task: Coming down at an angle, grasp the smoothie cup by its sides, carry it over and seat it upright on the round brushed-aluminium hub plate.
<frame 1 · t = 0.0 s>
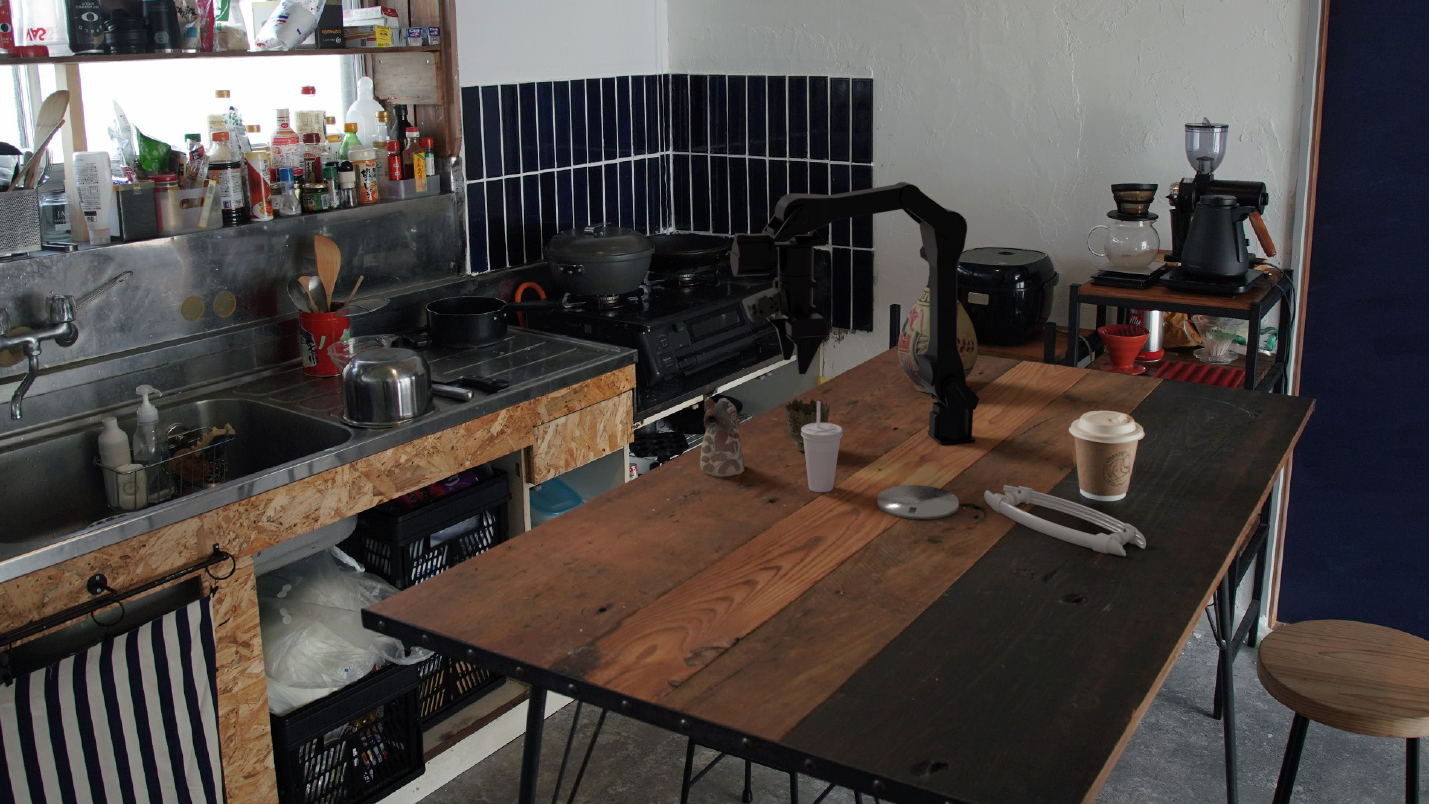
hand: (794, 366, 205), 15 cm above the table, tool pointing down, fingers open, 9 cm apart
cup: (806, 450, 209), on the table
ceramic jug: (936, 390, 243), on the table
figurine: (722, 470, 201), on the table
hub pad: (917, 504, 185), on the table
door handle: (1060, 528, 177), on the table
smoothie: (820, 489, 192), on the table
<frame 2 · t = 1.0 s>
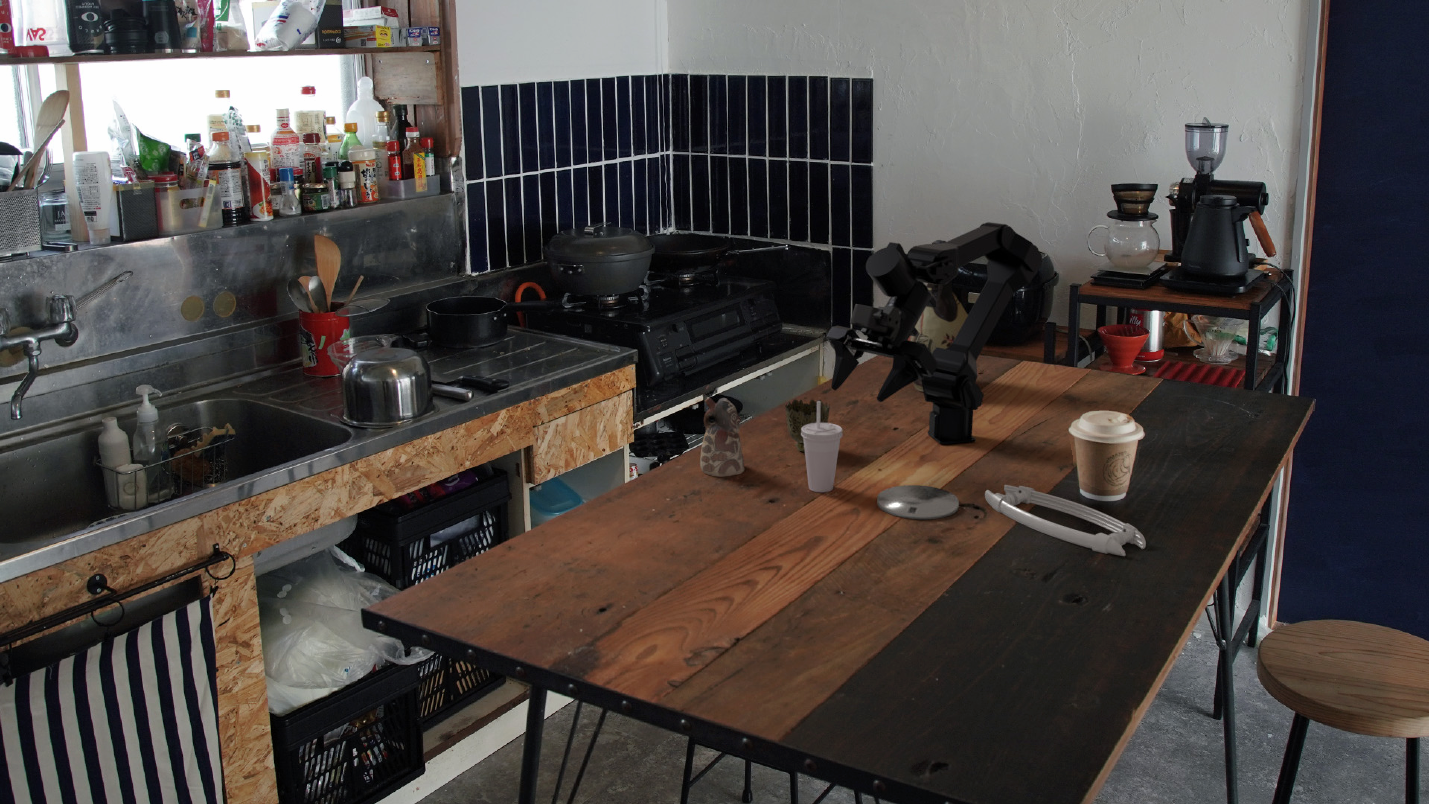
hand: (855, 394, 193), 13 cm above the table, tool tilted 45°, fingers open, 9 cm apart
nothing on the table moved.
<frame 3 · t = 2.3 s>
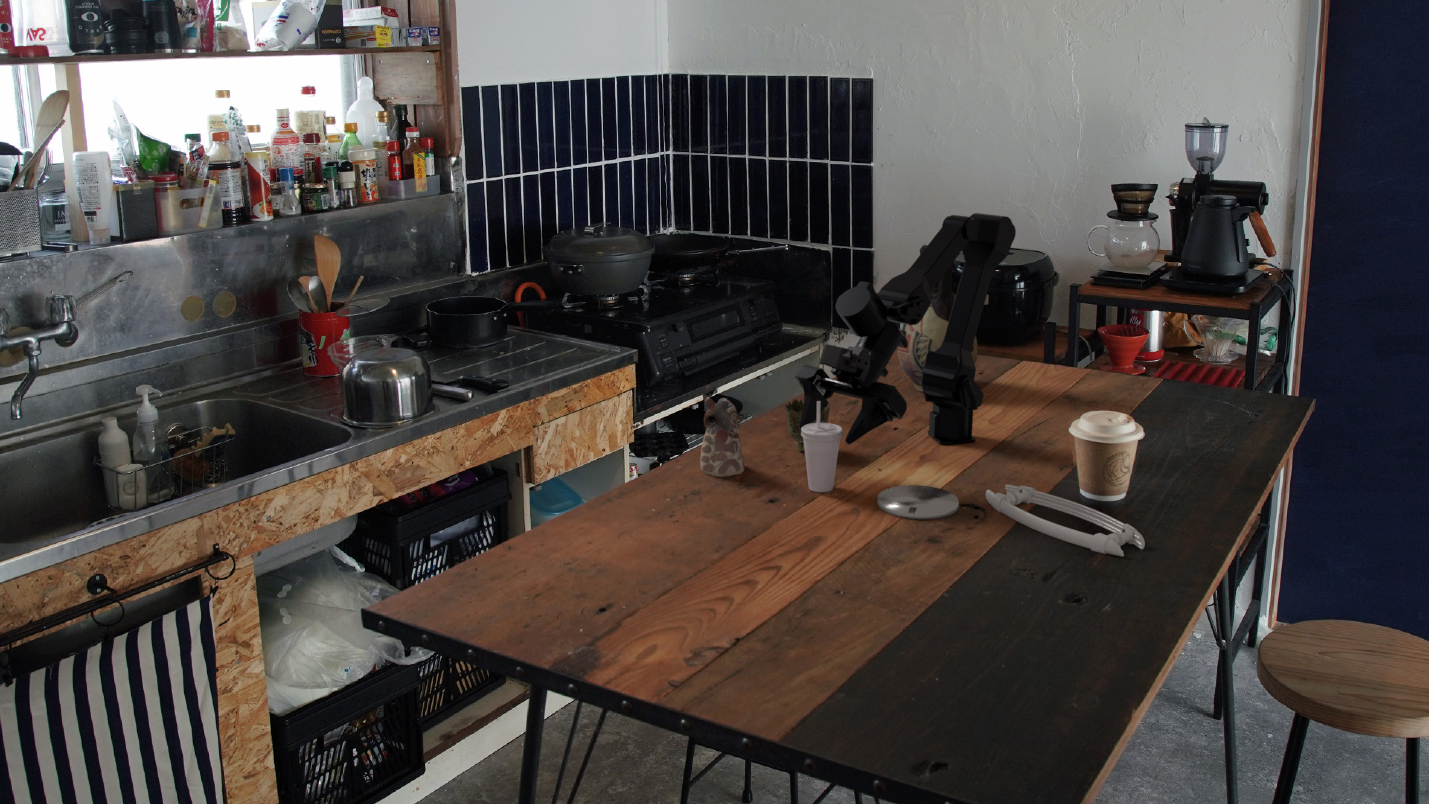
hand: (824, 436, 190), 8 cm above the table, tool tilted 45°, fingers open, 9 cm apart
nothing on the table moved.
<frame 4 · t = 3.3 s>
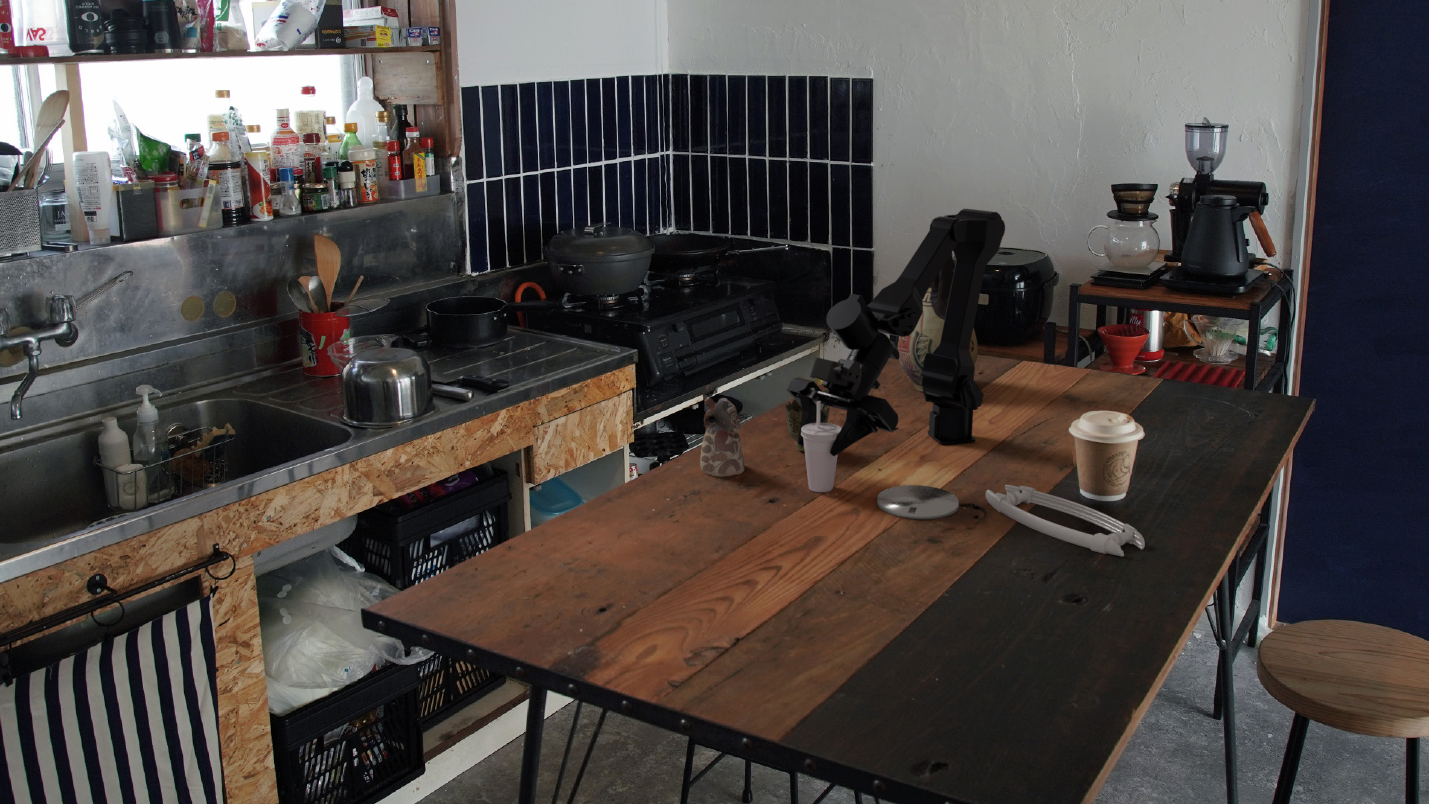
hand: (815, 449, 189), 7 cm above the table, tool tilted 45°, fingers closed on smoothie, 6 cm apart
smoothie: (820, 489, 192), on the table, touching gripper
everything else where it was.
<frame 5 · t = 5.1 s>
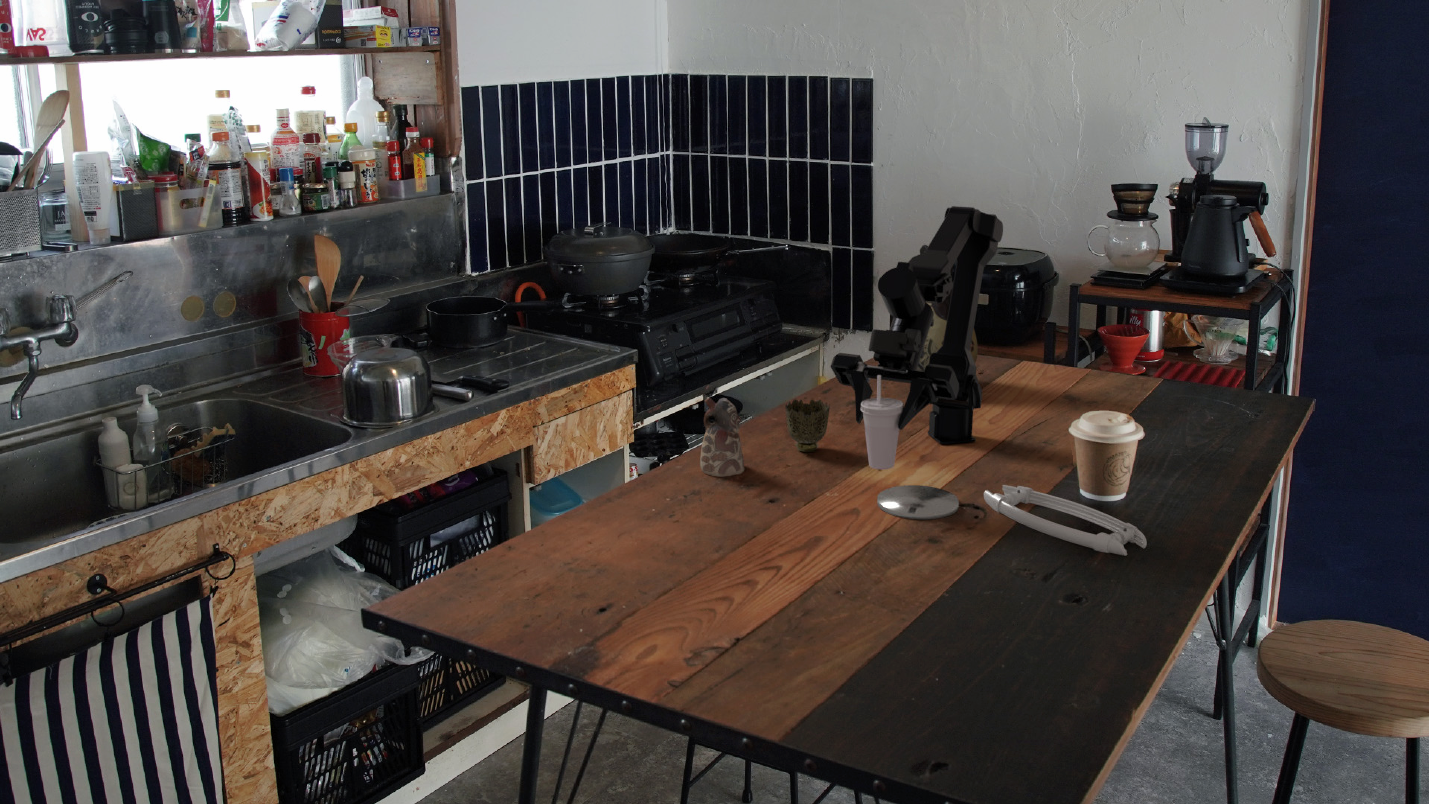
hand: (878, 425, 182), 12 cm above the table, tool tilted 45°, fingers closed on smoothie, 6 cm apart
smoothie: (881, 466, 185), point 5 cm above the table, touching gripper
everything else where it was.
when the fingers open (8 cm above the table, at t = 6.8 s): smoothie stays where it is, resting on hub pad.
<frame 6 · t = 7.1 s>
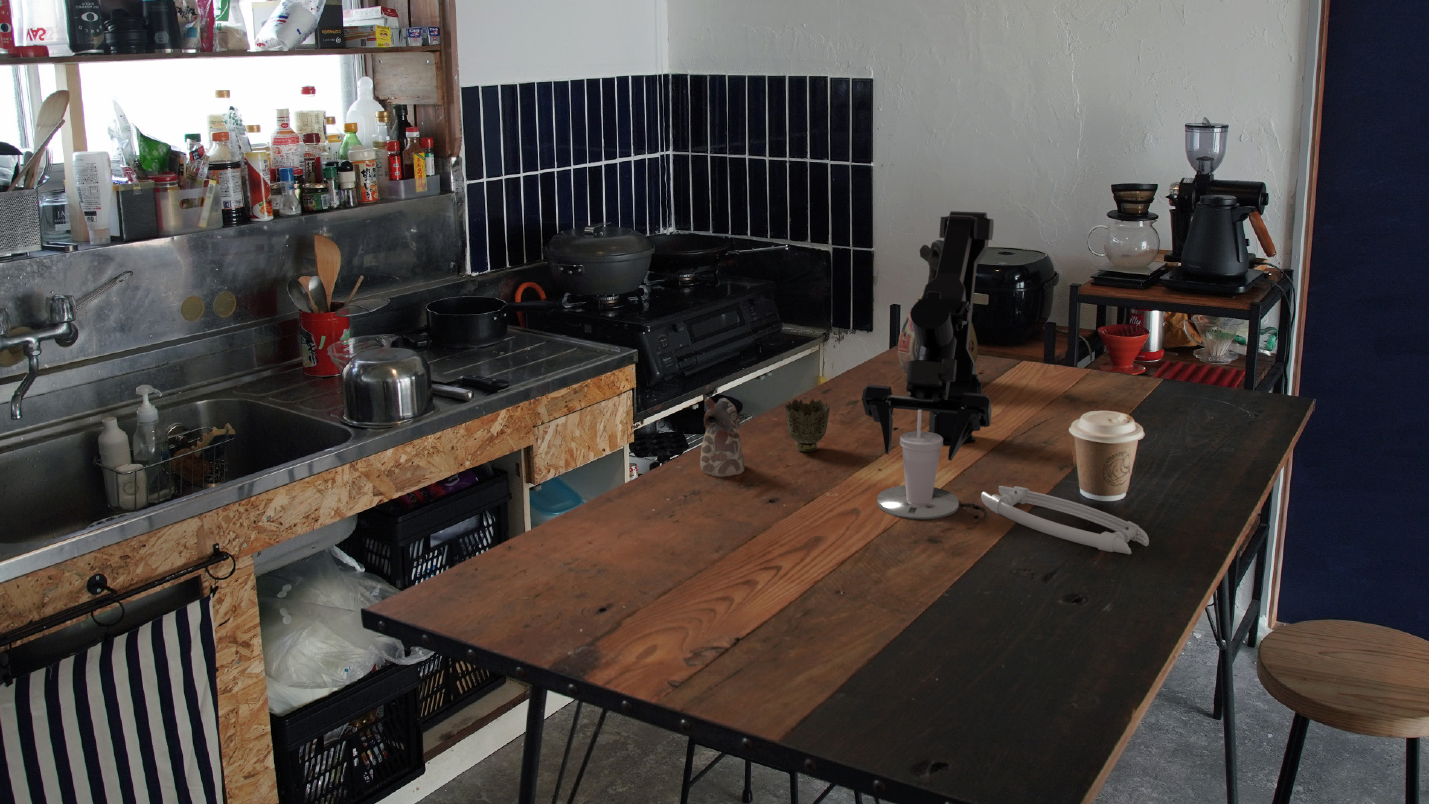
hand: (918, 456, 181), 8 cm above the table, tool tilted 45°, fingers open, 9 cm apart
smoothie: (919, 500, 185), point 1 cm above the table, touching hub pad
everything else where it was.
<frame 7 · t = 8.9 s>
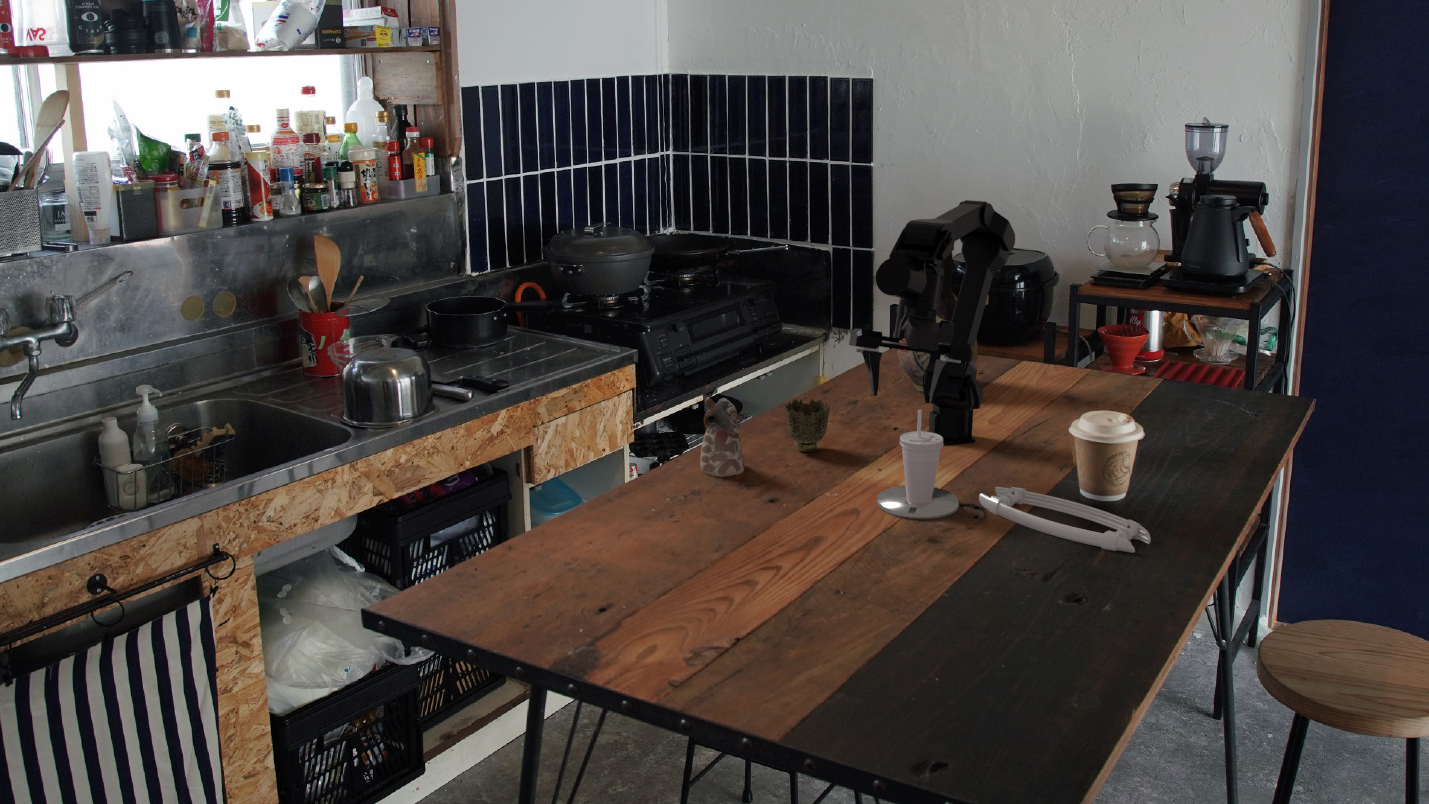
hand: (903, 399, 195), 12 cm above the table, tool tilted 15°, fingers open, 9 cm apart
nothing on the table moved.
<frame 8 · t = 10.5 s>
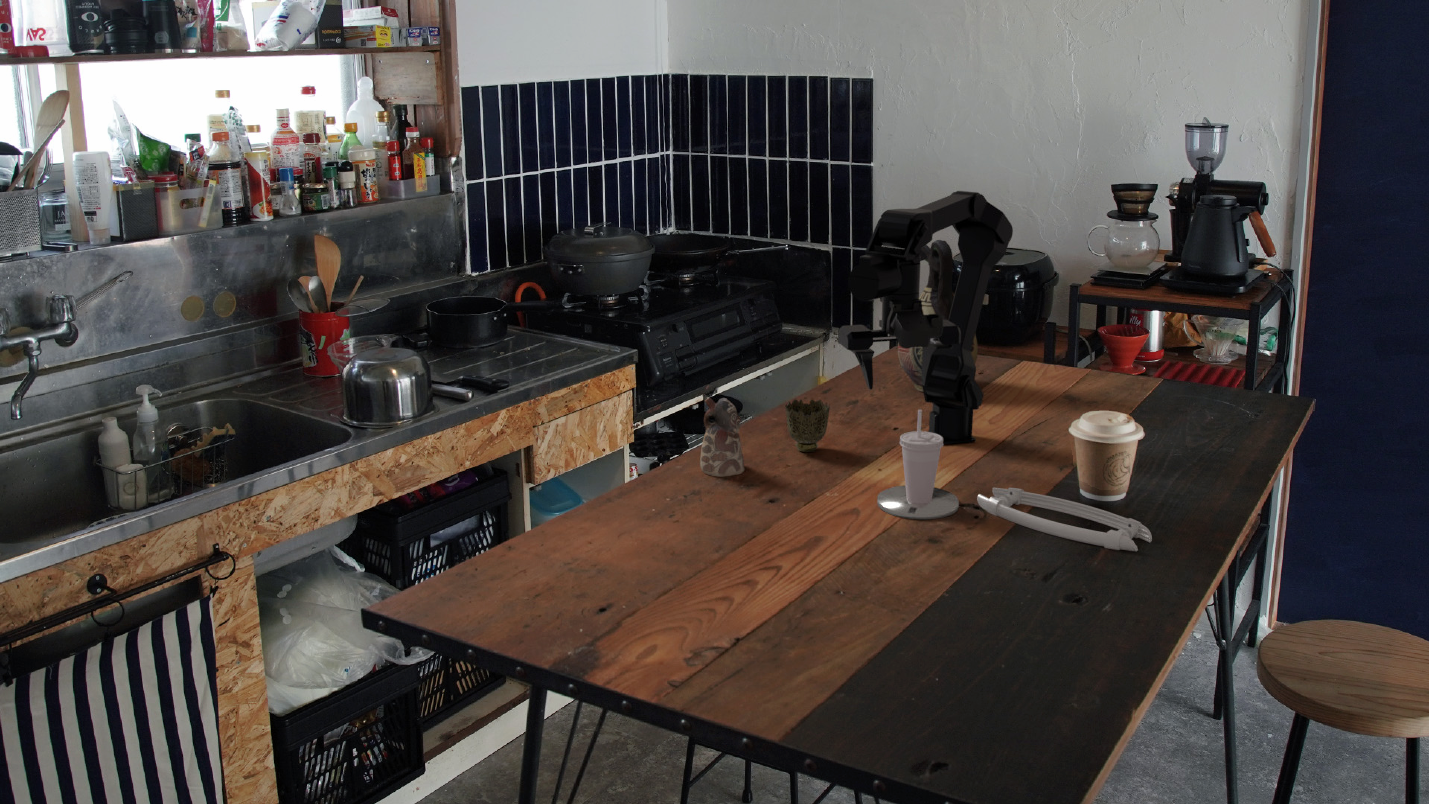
hand: (897, 387, 199), 13 cm above the table, tool pointing down, fingers open, 9 cm apart
at the end: smoothie inside the target area on the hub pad (0.2 cm from its centre), point 0.6 cm above the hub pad's base; smoothie tilted 0°; the gripper is holding nothing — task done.
